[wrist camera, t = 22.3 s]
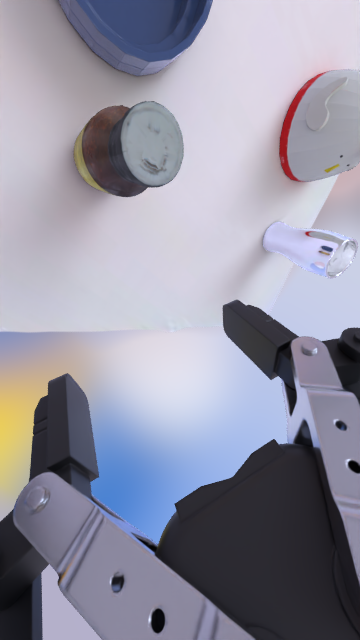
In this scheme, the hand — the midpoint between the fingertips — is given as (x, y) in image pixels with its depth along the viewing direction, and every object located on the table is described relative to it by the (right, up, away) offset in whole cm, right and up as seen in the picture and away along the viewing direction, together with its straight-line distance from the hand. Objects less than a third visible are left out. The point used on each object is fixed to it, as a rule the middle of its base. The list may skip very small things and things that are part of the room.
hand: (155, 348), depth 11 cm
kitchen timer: (+24, +34, +27) cm, 49 cm away
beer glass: (+21, +19, +36) cm, 46 cm away
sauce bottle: (-9, +22, +17) cm, 29 cm away
